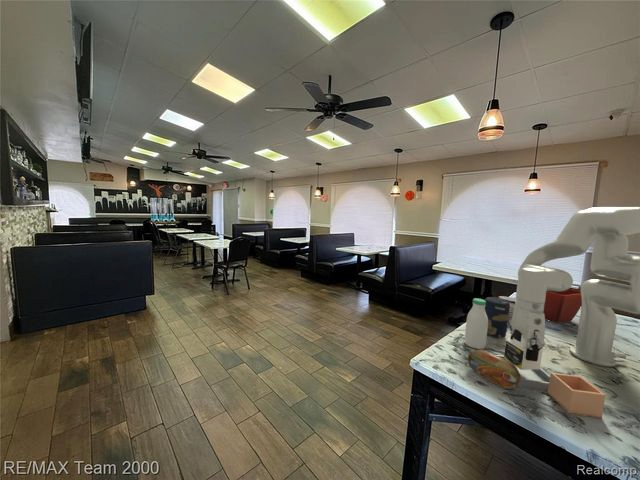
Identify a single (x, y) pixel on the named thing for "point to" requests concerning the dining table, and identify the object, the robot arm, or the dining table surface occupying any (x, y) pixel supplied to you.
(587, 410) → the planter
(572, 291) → the plant pot
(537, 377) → the grey square tray
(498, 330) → the canister
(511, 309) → the can
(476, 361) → the tin
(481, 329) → the milk bottle
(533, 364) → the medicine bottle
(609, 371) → the dining table surface
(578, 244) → the robot arm
